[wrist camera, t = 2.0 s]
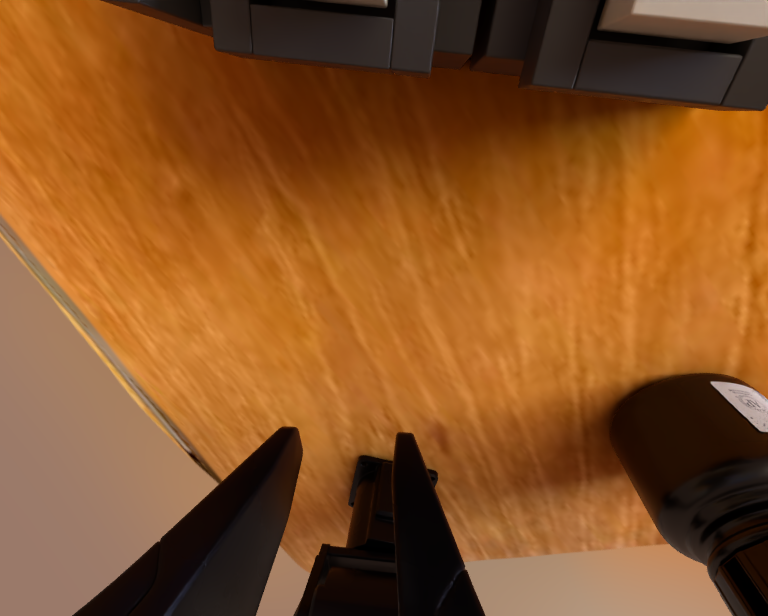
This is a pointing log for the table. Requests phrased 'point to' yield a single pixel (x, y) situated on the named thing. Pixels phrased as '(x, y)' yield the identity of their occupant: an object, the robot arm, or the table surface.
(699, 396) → the ink bottle
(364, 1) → the key
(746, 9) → the key
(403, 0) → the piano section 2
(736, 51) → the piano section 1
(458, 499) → the table surface
